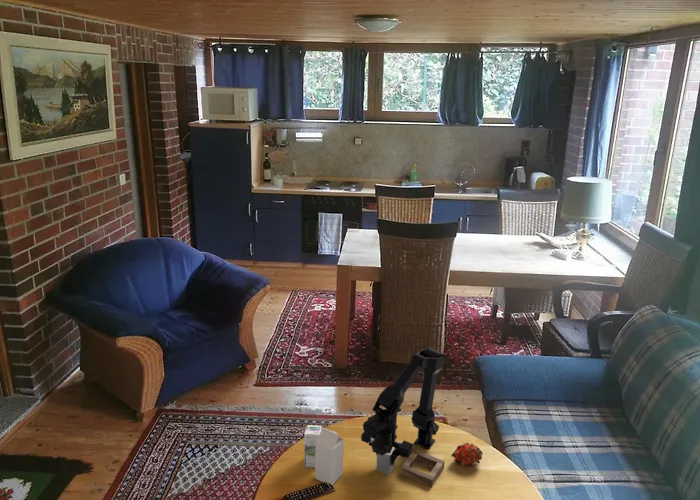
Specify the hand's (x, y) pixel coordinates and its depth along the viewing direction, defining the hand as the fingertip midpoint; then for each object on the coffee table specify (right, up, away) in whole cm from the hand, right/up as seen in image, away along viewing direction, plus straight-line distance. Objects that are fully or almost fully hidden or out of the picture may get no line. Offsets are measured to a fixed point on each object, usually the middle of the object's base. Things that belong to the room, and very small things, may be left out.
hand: (385, 461), depth 200 cm
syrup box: (-27, -1, +2) cm, 27 cm away
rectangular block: (0, -3, +1) cm, 3 cm away
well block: (+13, -3, 0) cm, 14 cm away
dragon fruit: (+30, -3, +5) cm, 31 cm away
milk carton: (-21, -4, -4) cm, 21 cm away
